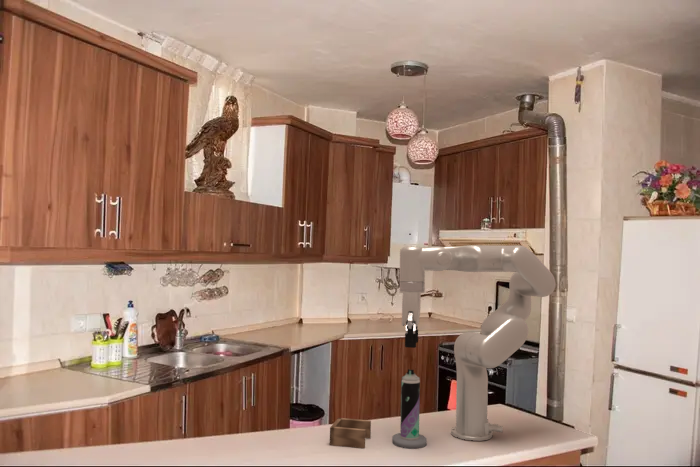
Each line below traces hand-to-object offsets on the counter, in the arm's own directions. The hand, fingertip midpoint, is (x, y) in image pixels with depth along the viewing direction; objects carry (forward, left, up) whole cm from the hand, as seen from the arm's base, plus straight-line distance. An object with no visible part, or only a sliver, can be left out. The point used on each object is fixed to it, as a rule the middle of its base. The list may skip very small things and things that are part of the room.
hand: (411, 344), depth 168 cm
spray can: (0, +1, -27) cm, 27 cm away
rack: (+17, +5, -29) cm, 34 cm away
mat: (0, +2, -29) cm, 29 cm away
